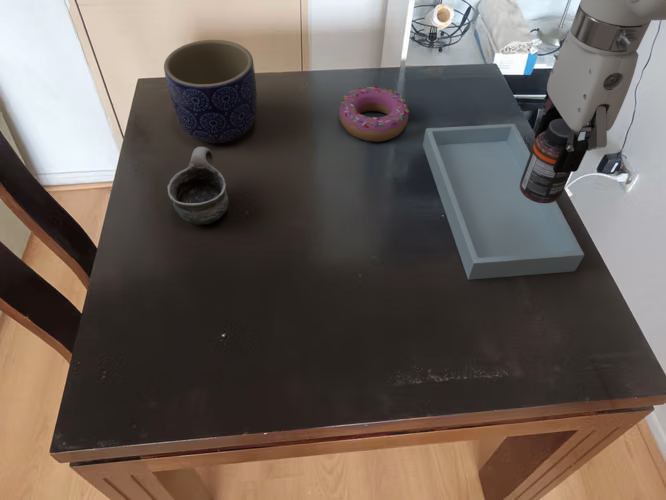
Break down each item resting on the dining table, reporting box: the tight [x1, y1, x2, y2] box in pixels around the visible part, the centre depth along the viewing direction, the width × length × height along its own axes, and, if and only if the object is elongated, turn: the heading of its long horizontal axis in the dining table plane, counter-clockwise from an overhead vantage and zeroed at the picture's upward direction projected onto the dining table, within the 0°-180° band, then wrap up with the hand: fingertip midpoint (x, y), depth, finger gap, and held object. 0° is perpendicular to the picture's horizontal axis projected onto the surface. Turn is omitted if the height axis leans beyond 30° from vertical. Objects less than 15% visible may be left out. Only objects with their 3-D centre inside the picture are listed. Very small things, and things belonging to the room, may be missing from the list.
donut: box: [338, 86, 410, 142], centre depth 111 cm, size 14×14×5 cm
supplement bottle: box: [520, 119, 581, 204], centre depth 74 cm, size 6×6×11 cm
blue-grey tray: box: [422, 123, 585, 281], centre depth 96 cm, size 34×18×4 cm, turn 6°
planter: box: [163, 39, 258, 144], centre depth 105 cm, size 17×17×15 cm
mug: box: [167, 146, 229, 226], centre depth 92 cm, size 10×12×10 cm
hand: (555, 153), depth 73 cm, fingers closed on supplement bottle, 6 cm apart
